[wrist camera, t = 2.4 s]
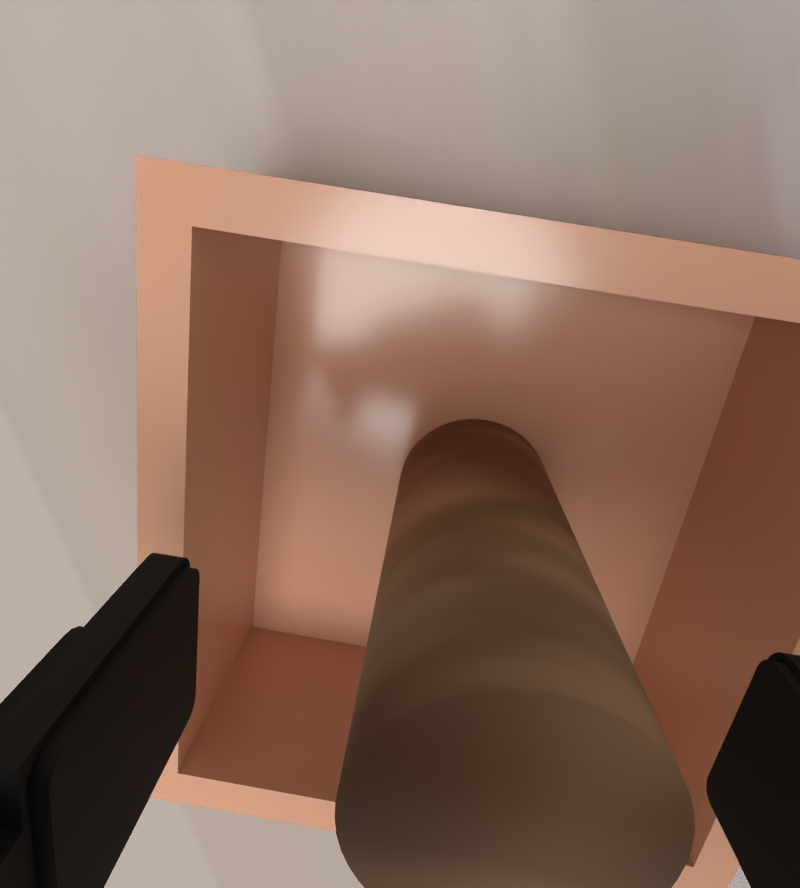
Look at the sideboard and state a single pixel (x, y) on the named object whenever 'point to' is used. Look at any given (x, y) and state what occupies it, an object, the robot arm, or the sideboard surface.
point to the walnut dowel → (500, 696)
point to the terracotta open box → (430, 406)
